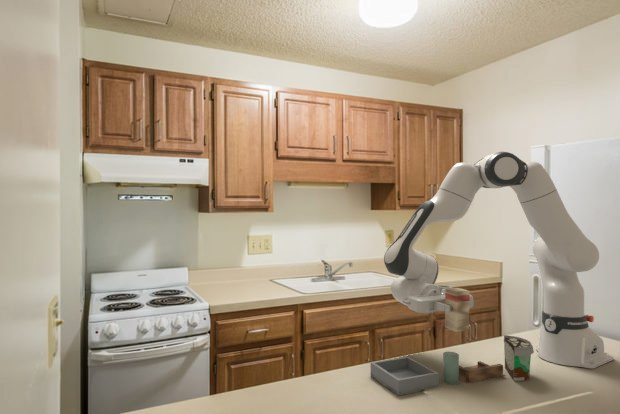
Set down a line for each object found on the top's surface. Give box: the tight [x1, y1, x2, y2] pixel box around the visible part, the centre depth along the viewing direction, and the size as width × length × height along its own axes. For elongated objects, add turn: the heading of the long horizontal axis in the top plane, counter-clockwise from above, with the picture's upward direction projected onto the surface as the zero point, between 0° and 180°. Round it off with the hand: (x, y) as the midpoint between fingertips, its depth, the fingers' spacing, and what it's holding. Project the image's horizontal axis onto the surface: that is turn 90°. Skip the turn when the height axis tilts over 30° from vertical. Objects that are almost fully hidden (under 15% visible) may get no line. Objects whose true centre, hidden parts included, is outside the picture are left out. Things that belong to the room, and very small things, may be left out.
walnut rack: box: [459, 360, 507, 384], centre depth 120 cm, size 14×9×4 cm, turn 112°
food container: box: [503, 335, 535, 383], centre depth 119 cm, size 12×6×10 cm, turn 168°
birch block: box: [444, 287, 471, 333], centre depth 120 cm, size 5×5×11 cm
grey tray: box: [370, 356, 440, 397], centre depth 116 cm, size 13×14×4 cm
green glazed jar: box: [442, 351, 460, 386], centre depth 115 cm, size 4×4×8 cm
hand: (459, 308), depth 119 cm, fingers closed on birch block, 4 cm apart
